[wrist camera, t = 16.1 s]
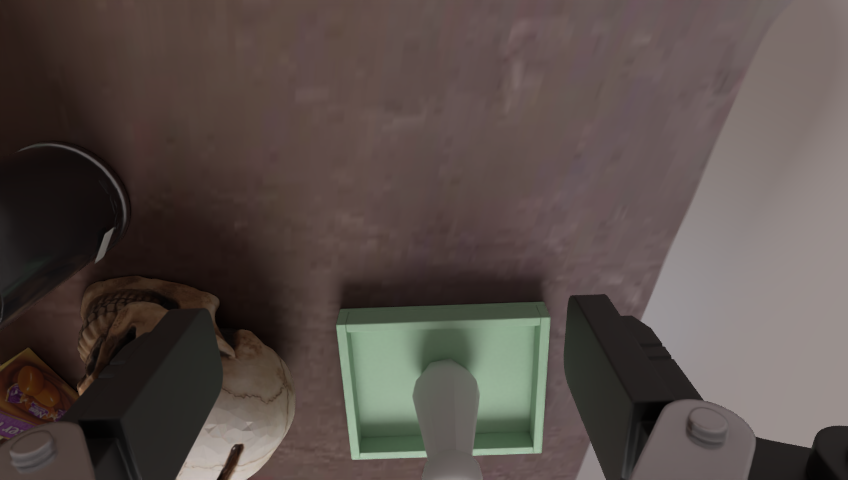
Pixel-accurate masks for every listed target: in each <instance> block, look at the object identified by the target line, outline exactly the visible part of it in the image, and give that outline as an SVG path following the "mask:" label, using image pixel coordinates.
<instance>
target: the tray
mask: <svg viewBox="0 0 848 480" xmlns="http://www.w3.org/2000/svg"><path fill="white" fill-rule="evenodd" d="M336 329H337V338H338V347H339V355H340V364H341V372H342V381H343V389H344V398H345V406H346V415H347V423H348V432H349V440H350V449H351V457H352V460H353V459H385V458H413V457H427V454H426V450H425V446H424V442H423V438H422V434H421V430H420V426H419V422H418V418H417V414H416V410H415V406H414V402H413V398H412V395H413V391H414V387H415V383H416V380H417V379H418V378H419V377H420V376H421V374H422V373H423V372H424V371H425V370H426V368H427V367H428V365H429V364H430V363H431V362H435V361H440V360H444V359H449V358H450V359H452V360H453V361H455V362H457V363H458V364H460V365H461V366H463V367H465V368H466V369H467V370H468V371H469V372H470V373H471V374H472V375H473V376H474V378H475V379H476V381H477V384H478V388H479V392H480V399H479V407H478V415H477V423H476V431H475V439H474V446H473V455H500V454H528V453H542V439H543V424H544V409H545V394H546V378H547V363H548V348H549V333H550V315H549V313H548V310H547V308H546V306H545V303H544V302H519V303H491V304H463V305H436V306H408V307H381V308H353V309H340V312H339V316H338V319H337V323H336Z"/></svg>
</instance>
